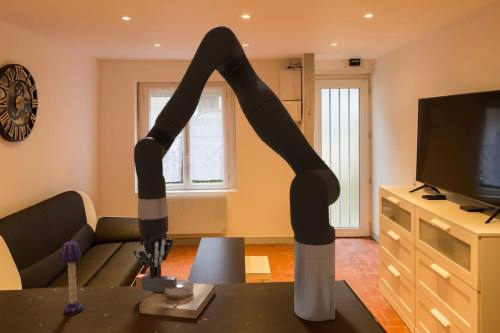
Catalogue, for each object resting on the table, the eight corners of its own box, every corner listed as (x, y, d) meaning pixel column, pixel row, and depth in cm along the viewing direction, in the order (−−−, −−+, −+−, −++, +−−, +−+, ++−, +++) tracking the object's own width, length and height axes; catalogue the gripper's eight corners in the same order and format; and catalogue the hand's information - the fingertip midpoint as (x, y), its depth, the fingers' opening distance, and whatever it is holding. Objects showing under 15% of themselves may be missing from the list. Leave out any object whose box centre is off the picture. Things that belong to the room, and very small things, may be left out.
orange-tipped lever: (197, 288, 96) (197, 274, 96) (187, 300, 90) (186, 285, 89) (145, 284, 100) (144, 270, 99) (131, 295, 93) (130, 280, 92)
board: (215, 292, 99) (214, 283, 99) (196, 318, 86) (195, 308, 85) (165, 288, 102) (165, 279, 102) (139, 312, 89) (139, 303, 88)
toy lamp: (89, 307, 92) (85, 240, 90) (76, 316, 87) (71, 246, 86) (72, 305, 93) (68, 239, 91) (58, 314, 89) (53, 245, 87)
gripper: (159, 208, 105) (161, 268, 107) (122, 218, 94) (126, 286, 95) (180, 210, 102) (182, 272, 104) (145, 221, 90) (149, 291, 92)
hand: (155, 279), depth 100 cm, fingers closed
